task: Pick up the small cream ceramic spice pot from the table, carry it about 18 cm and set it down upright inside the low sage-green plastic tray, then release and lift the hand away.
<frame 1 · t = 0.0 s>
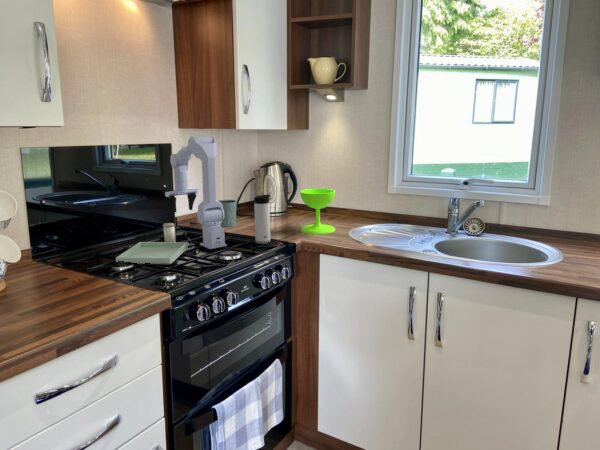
hand: (182, 210, 216), 10 cm above the worktop, tool pointing down, fingers open, 7 cm apart
spice pot: (170, 242, 201), on the worktop
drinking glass: (227, 226, 231), on the worktop
tray: (154, 255, 183), on the worktop
wineglass: (317, 230, 220), on the worktop
travel mug: (263, 242, 200), on the worktop
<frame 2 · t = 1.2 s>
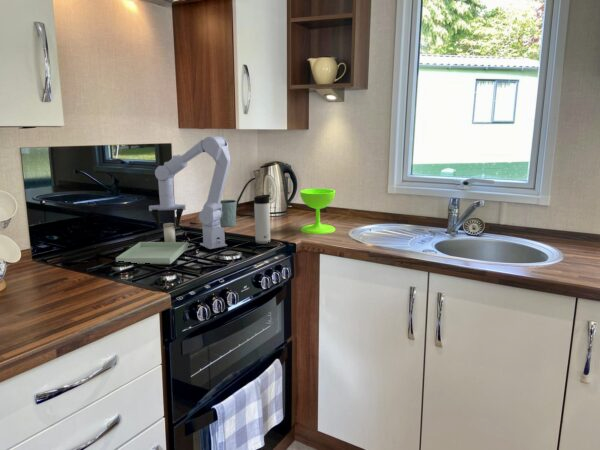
hand: (168, 227, 199), 7 cm above the worktop, tool pointing down, fingers open, 7 cm apart
nothing on the worktop moved.
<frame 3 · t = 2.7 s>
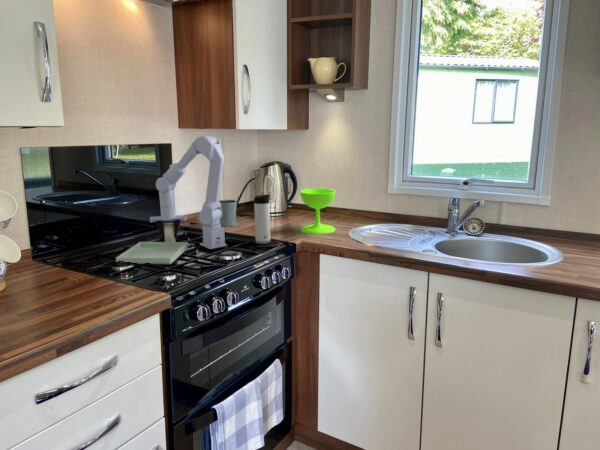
hand: (169, 238, 200), 2 cm above the worktop, tool pointing down, fingers closed on spice pot, 4 cm apart
spice pot: (170, 242, 201), on the worktop, touching gripper
everything else where it was.
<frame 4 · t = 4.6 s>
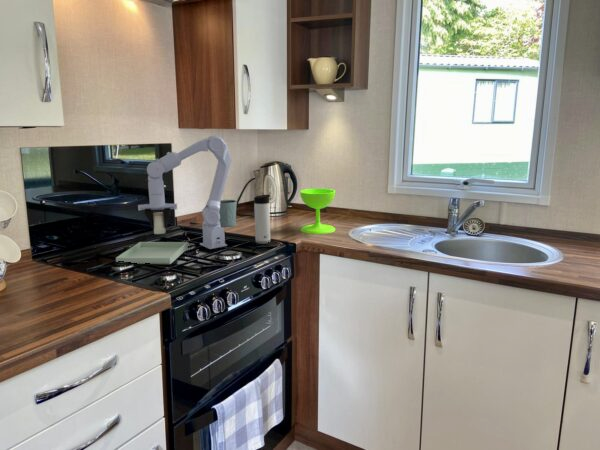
hand: (159, 227, 188), 9 cm above the worktop, tool pointing down, fingers closed on spice pot, 4 cm apart
spice pot: (159, 233, 189), point 7 cm above the worktop, touching gripper
everything else where it was.
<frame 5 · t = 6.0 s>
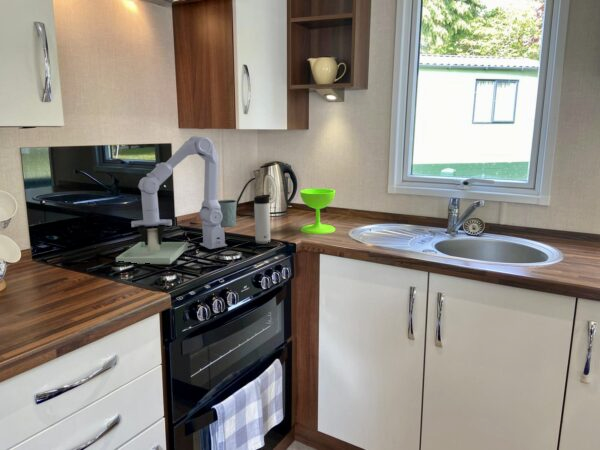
hand: (153, 244, 182), 4 cm above the worktop, tool pointing down, fingers closed on spice pot, 4 cm apart
spice pot: (154, 250, 183), point 2 cm above the worktop, tilted 5°, touching gripper
everything else where it was.
when the fingers open (4 cm above the worktop, at t = 6.9 s): spice pot stays where it is, resting on tray.
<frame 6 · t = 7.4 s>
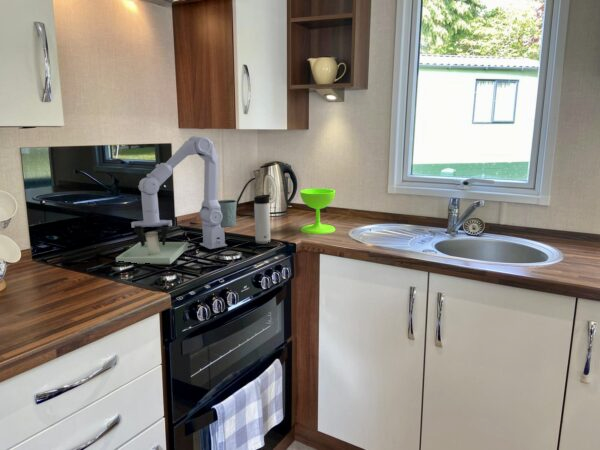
hand: (153, 245, 182), 4 cm above the worktop, tool pointing down, fingers open, 7 cm apart
spice pot: (154, 253, 183), point 1 cm above the worktop, touching tray
everything else where it was.
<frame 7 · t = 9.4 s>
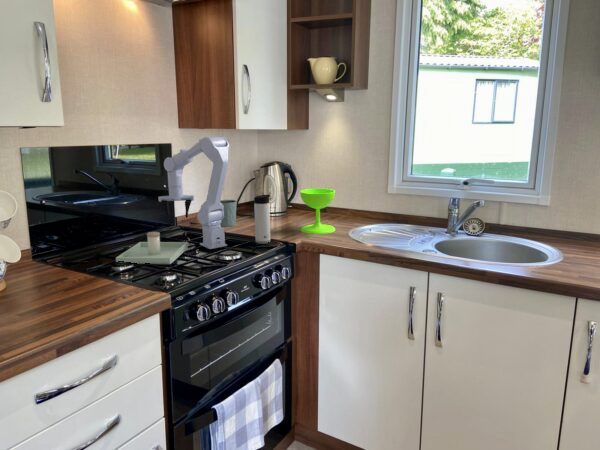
hand: (177, 217, 205), 9 cm above the worktop, tool pointing down, fingers open, 7 cm apart
nothing on the worktop moved.
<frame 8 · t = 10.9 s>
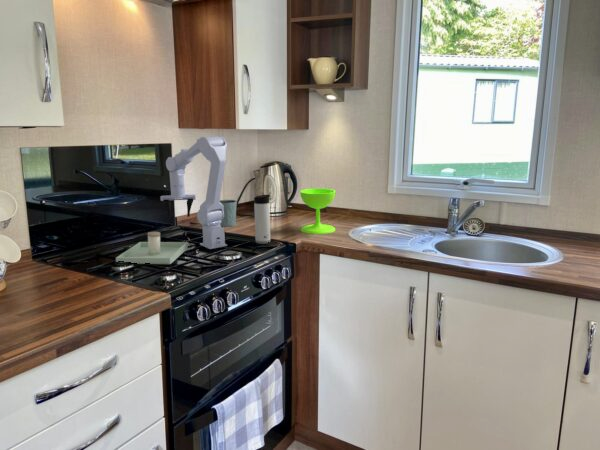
hand: (179, 216, 207), 9 cm above the worktop, tool pointing down, fingers open, 7 cm apart
nothing on the worktop moved.
at the end: spice pot inside the target area on the tray (0.3 cm from its centre), point 0.6 cm above the tray's base; spice pot tilted 4°; the gripper is holding nothing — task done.
